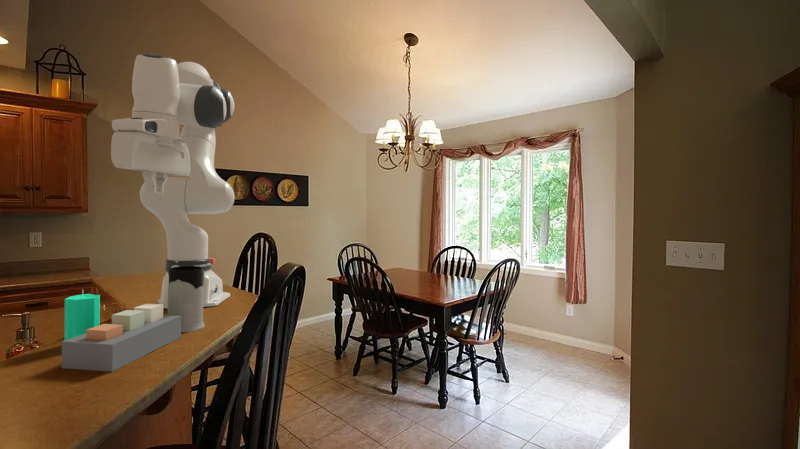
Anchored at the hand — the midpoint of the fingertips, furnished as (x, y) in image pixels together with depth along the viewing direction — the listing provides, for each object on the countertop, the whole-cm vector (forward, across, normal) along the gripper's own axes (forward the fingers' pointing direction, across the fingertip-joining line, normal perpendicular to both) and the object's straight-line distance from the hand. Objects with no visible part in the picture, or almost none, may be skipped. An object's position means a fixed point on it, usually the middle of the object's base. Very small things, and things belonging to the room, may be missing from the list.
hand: (155, 193), depth 87 cm
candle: (+33, +3, -14) cm, 36 cm away
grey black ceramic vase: (+33, -15, -1) cm, 37 cm away
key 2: (+31, -1, -2) cm, 31 cm away
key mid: (+31, +5, -2) cm, 32 cm away
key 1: (+32, +11, -2) cm, 34 cm away
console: (+33, +5, -2) cm, 34 cm away
